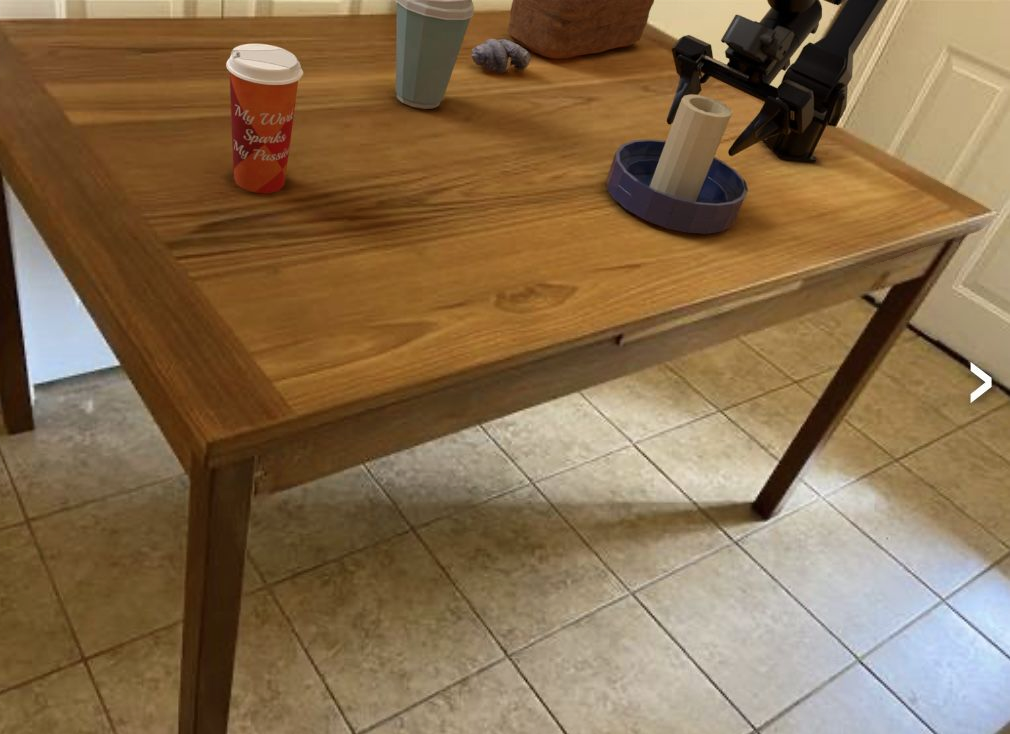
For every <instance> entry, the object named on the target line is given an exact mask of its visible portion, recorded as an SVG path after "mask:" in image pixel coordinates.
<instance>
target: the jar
mask: <svg viewBox="0 0 1010 734" xmlns="http://www.w3.org/2000/svg"><path fill="white" fill-rule="evenodd" d="M732 114H733V111H732V109H731V108H730V107H729V106H728V105H727V104H726V103H723V102H722V101H720V100H717V99H715V98H712V97H710V96H705V95H700V94H698V95H685V96H684V97H683V98H682V99H681V102H680V105H679V107H678V110H677V113H676V116H675V118H674V121H673V123H672V124H671V126H670V129H669V132H668V134H667V138H666V140H665V141H666V143H665V146H664V148H663V151H662V154H661V157H660V159H659V162H658V165H657V167H656V170H655V173H654V176H653V178H652V181H651V184H650V187H652V188H654V189H655V190H658V191H660V192H663V193H666V194H668V195H671V196H674V197H676V198H681V199H685V200H689V201H694V202H696V200H697V198H698V195H699V193H700V191H701V188H702V186H703V183H704V181H705V178H706V176H707V173H708V171H709V169H710V166H711V164H712V161H713V159H714V157H715V156H716V154H717V152H718V149H719V147H720V145H721V142H722V139H723V137H724V134H725V132H726V129H727V128H728V127H727V126H728V124H729V122H730V120H731V118H732Z"/></svg>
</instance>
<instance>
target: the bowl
mask: <svg viewBox="0 0 1010 734" xmlns="http://www.w3.org/2000/svg"><path fill="white" fill-rule="evenodd" d="M665 143H666V140H661V139H649V138H647V139H636V140H635V139H633V140H631V141H630V140H629V141H627V142H625V143H622V144H621V145H619V147H618V148H617V149H616V151H615V152H614V156H613V158H612V162H611V165H610V168H609V170H608V174H607V177H606V189H607V191H608V192H609V194H610V195H611V197H612V199H613V200H614V201H615V202H616V203H618V204H619V205H620V206H621V207H623V208H624V209H625V210H626V211H627V212H630V213H631V214H633V215H635V216H637V217H639V218H641V219H642V220H643V221H646V222H649V223H651V224H654V225H656V226H660V227H661V228H666V229H670V230H674V231H677V232H678V231H679V232H683V233H688V234H689V233H690V234H701V235H702V234H703V235H706V234H714V233H720V232H724V231H726V230H728V229H729V228H731V227H733V226H734V224H735V221H736V219H737V217H738V215H739V213H740V210H741V208H742V205H743V203H744V201H745V199H746V196H747V194H748V192H749V188H748V185H747V182H746V180H745V179H744V177H742V175H741V174H740V172H738V171H737V170H736V169H735V168H734V167H732V166H730V165H729V164H728V163H726V161H724V160H722V159H720V158H717V157H715V156H714V159H713V161H712V164H711V166H710V169H709V171H708V173H707V176H706V178H705V181H704V183H703V186H702V188H701V191H700V193H699V195H698V198H697V200H696V202H694V201H689V200H685V199H681V198H676V197H674V196H671V195H668V194H666V193H663V192H660V191H658V190H655V189H654V188H652V187H650V184H651V181H652V178H653V176H654V173H655V170H656V167H657V165H658V162H659V159H660V157H661V154H662V151H663V148H664V146H665Z"/></svg>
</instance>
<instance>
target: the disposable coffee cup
mask: <svg viewBox="0 0 1010 734" xmlns="http://www.w3.org/2000/svg"><path fill="white" fill-rule="evenodd" d="M394 1H395V3H396V33H395V34H396V35H395V36H396V37H395V38H396V40H395V41H396V42H395V93H396V99H397V100H398V101H400V103H402V104H404V105H407V106H409V107H412V108H416V109H423V110H427V109H428V110H429V109H430V110H431V109H436V108H437V107H439V106H440V104H441V102H443V100H444V98H445V94H446V91H447V88H448V86H449V83H450V80H451V77H452V74H453V71H454V68H455V65H456V62H457V60H458V56H459V53H460V51H461V48H462V45H463V42H464V39H465V36H466V34H467V33H466V32H467V30H468V28H469V27H468V26H469V24H470V22H471V18H472V17H473V16H474V15H475V14H474V11H475V5H474V2H473V0H394Z"/></svg>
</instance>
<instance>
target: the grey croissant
mask: <svg viewBox="0 0 1010 734" xmlns="http://www.w3.org/2000/svg"><path fill="white" fill-rule="evenodd" d="M471 52H472V54H471V56H470V57H471V58H472V60H473V63H475V65H478V66H480V67H481V68H482V69H483V70H484V71H486V72H493V71H494V72H495V73H496V74H498V75H503V74H504V73H505V72H506V71H507V68H508V63H509V66H510V67H512V66H513V69H514V70H515V71H525V69H527V67H528V66H529V65H530V62H531V59H532V58H531V57H532V56H531V54H530V53H529V51H528V50H527V49H526V48H524V47H523V46H521V45H520V44H518V43H516V42H515V41H514V42H513V41H511V40H509V39H506V38H501V39H495V38H489V39H487V40H485V41H484V42H483V43H481V44H479V45H476V46H475V47H473V48H472V49H471ZM509 58H510V62H509Z"/></svg>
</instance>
